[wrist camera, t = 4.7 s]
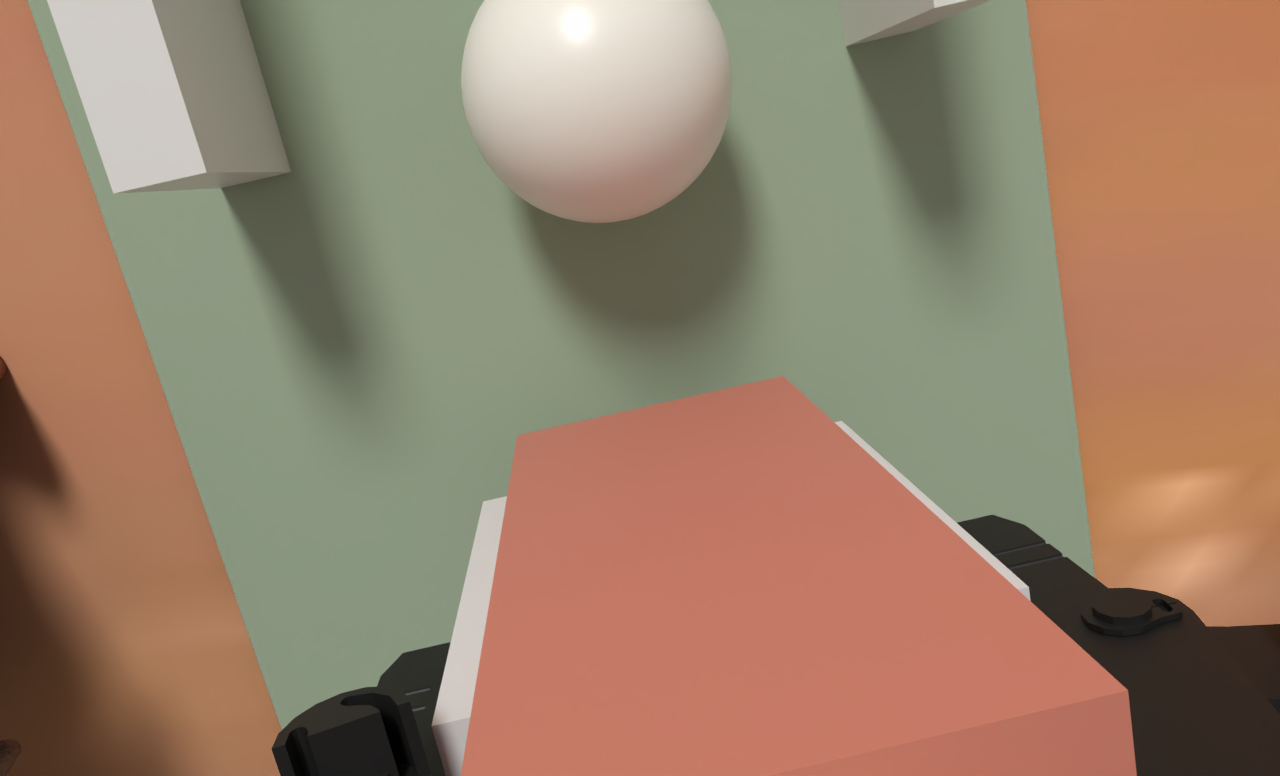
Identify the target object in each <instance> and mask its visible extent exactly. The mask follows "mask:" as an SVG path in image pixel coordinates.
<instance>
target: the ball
mask: <svg viewBox="0 0 1280 776" xmlns="http://www.w3.org/2000/svg"><path fill="white" fill-rule="evenodd" d="M461 89H462V100H463V106H464V110H465V115H466V119H467V123H468V125H469V128H470V131H471V134H472V137H473V139H474V141H475V143H476V145H477V147H478V149H479V151H480V153H481V155H482V156H483V158H484V159H485V161H486V162H487V164H488V165H489V167H490V168H491V170H492V171H493V172H494V173H495V174H496V175H497V176H498V178H499V179H500V180H501V181H502V182H503V183H504V184H505V185H506V186H507V187H508V188H509V189H511V190H512V191H513V192H514V193H515V194H516V195H518V196H519V197H521V198H522V199H523V200H525V201H526V202H528V203H529V204H531V205H533V206H535V207H537V208H539V209H541V210H543V211H545V212H547V213H549V214H552V215H555V216H558V217H561V218H564V219H569V220H573V221H578V222H588V223H609V222H618V221H623V220H628V219H632V218H635V217H638V216H641V215H645V214H647V213H649V212H651V211H653V210H656V209H658V208H660V207H662V206H663V205H665V204H666V203H668V202H669V201H671V200H673V199H674V198H676V197H677V196H678V195H679V194H681V193H682V192H683V191H684V190H685V189H686V188H688V187H689V186H690V185H691V184H692V183H693V182H694V180H695V179H696V178H697V177H698V176H699V175H700V174H701V173H702V171H703V170H704V168H705V167H706V166H707V164H708V163H709V161H710V160H711V158H712V156H713V155H714V153H715V151H716V149H717V147H718V145H719V143H720V141H721V138H722V135H723V133H724V130H725V128H726V124H727V120H728V116H729V112H730V105H731V97H732V67H731V60H730V53H729V49H728V45H727V41H726V37H725V35H724V32H723V29H722V27H721V24H720V22H719V19H718V17H717V16H716V14H715V12H714V10H713V8H712V6H711V5H710V3H709V1H708V0H484V1H483V3H482V5H481V6H480V8H479V9H478V11H477V13H476V16H475V18H474V20H473V22H472V24H471V27H470V30H469V33H468V36H467V40H466V43H465V47H464V53H463V59H462V69H461Z"/></svg>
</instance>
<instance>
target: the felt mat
mask: <svg viewBox="0 0 1280 776" xmlns="http://www.w3.org/2000/svg"><path fill="white" fill-rule="evenodd" d="M27 1H28V3H29V6H30V9H31V12H32V15H33V18H34V21H35V24H36V26H37V29H38V32H39V35H40V38H41V41H42V44H43V46H44V49H45V52H46V55H47V58H48V61H49V64H50V67H51V69H52V72H53V75H54V78H55V81H56V84H57V87H58V90H59V92H60V95H61V98H62V101H63V104H64V107H65V110H66V112H67V115H68V118H69V121H70V124H71V127H72V130H73V133H74V135H75V138H76V141H77V144H78V147H79V150H80V153H81V155H82V158H83V161H84V164H85V167H86V170H87V173H88V176H89V178H90V181H91V184H92V187H93V190H94V193H95V196H96V198H97V201H98V204H99V207H100V210H101V213H102V216H103V219H104V221H105V224H106V227H107V230H108V233H109V236H110V239H111V242H112V244H113V247H114V250H115V253H116V256H117V259H118V262H119V264H120V267H121V270H122V273H123V276H124V279H125V282H126V285H127V287H128V290H129V293H130V296H131V299H132V302H133V305H134V307H135V310H136V313H137V316H138V319H139V322H140V325H141V328H142V330H143V333H144V336H145V339H146V342H147V345H148V348H149V351H150V353H151V356H152V359H153V362H154V365H155V368H156V371H157V373H158V376H159V379H160V382H161V385H162V388H163V391H164V394H165V396H166V399H167V402H168V405H169V408H170V411H171V414H172V416H173V419H174V422H175V425H176V428H177V431H178V434H179V437H180V439H181V442H182V445H183V448H184V451H185V454H186V457H187V459H188V462H189V465H190V468H191V471H192V474H193V477H194V480H195V482H196V485H197V488H198V491H199V494H200V497H201V500H202V503H203V505H204V508H205V511H206V514H207V517H208V520H209V523H210V525H211V528H212V531H213V534H214V537H215V540H216V543H217V546H218V548H219V551H220V554H221V557H222V560H223V563H224V566H225V568H226V571H227V574H228V577H229V580H230V583H231V586H232V589H233V591H234V594H235V597H236V600H237V603H238V606H239V609H240V612H241V614H242V617H243V620H244V623H245V626H246V629H247V632H248V634H249V637H250V640H251V643H252V646H253V649H254V652H255V655H256V657H257V660H258V663H259V666H260V669H261V672H262V675H263V677H264V680H265V683H266V686H267V689H268V692H269V695H270V698H271V700H272V703H273V706H274V709H275V712H276V715H277V718H278V720H279V723H280V726H281V729H282V730H283V729H284V728H285V727H286V726H287V725H288V724H289V723H290V722H291V721H292V720H293V719H294V718H295V717H297V716H298V715H300V714H301V713H303V712H304V711H306V710H308V709H309V708H311V707H312V706H314V705H315V704H317V703H320V702H322V701H324V700H327V699H329V698H331V697H334V696H336V695H338V694H341V693H344V692H348V691H352V690H356V689H360V688H364V687H377V685H378V682H379V679H380V676H381V675H382V674H383V673H384V672H385V671H386V670H387V669H388V668H389V667H390V666H391V665H392V664H393V663H394V662H395V661H396V660H397V659H398V658H399V656H400V655H401V654H402V653H405V652H409V651H414V650H418V649H422V648H427V647H431V646H435V645H440V644H444V643H448V642H451V639H452V635H453V630H454V626H455V621H456V617H457V613H458V608H459V604H460V600H461V595H462V591H463V587H464V582H465V578H466V574H467V569H468V565H469V561H470V556H471V552H472V548H473V543H474V539H475V535H476V530H477V526H478V522H479V517H480V513H481V509H482V504H483V501H487V500H492V499H496V498H501V497H505V496H507V494H508V487H509V481H510V475H511V469H512V463H513V457H514V451H515V445H516V439H517V435H521V434H526V433H530V432H535V431H539V430H544V429H548V428H553V427H557V426H562V425H566V424H571V423H575V422H580V421H584V420H588V419H593V418H597V417H602V416H606V415H611V414H615V413H620V412H624V411H629V410H633V409H638V408H642V407H647V406H651V405H655V404H660V403H664V402H669V401H673V400H678V399H682V398H687V397H691V396H696V395H700V394H705V393H709V392H713V391H718V390H722V389H727V388H731V387H736V386H740V385H745V384H749V383H754V382H758V381H763V380H767V379H772V378H776V377H780V376H784V377H785V378H786V379H787V380H788V381H790V382H791V383H792V384H793V385H794V386H795V387H796V388H797V389H798V390H799V391H801V392H802V393H803V394H804V395H805V396H806V397H807V398H808V399H809V400H810V401H811V402H813V403H814V404H815V405H816V406H817V407H818V408H819V409H820V410H821V411H822V412H824V413H825V414H826V415H827V416H828V417H829V418H830V419H831V420H832V421H833V422H838V421H843V422H844V423H845V424H846V425H847V426H848V427H849V428H850V429H852V430H853V431H854V432H855V433H856V434H857V435H858V436H859V437H861V438H862V439H863V440H864V441H865V442H866V443H867V444H868V445H870V446H871V447H872V448H873V449H874V450H875V451H876V452H877V453H879V454H880V455H881V456H882V457H883V458H884V459H885V460H886V461H888V462H889V463H890V464H891V465H892V466H893V467H894V468H895V469H897V470H898V471H899V472H900V473H901V474H902V475H903V476H904V477H906V478H907V479H908V480H909V481H910V482H911V483H912V484H913V485H915V486H916V487H917V488H918V489H919V490H920V491H921V492H922V493H924V494H925V495H926V496H927V497H928V498H929V499H930V500H931V501H933V502H934V503H935V504H936V505H937V506H938V507H939V508H940V509H942V510H943V511H944V512H945V513H946V514H947V515H948V516H949V517H951V518H952V519H953V520H954V521H955V522H956V523H957V522H962V521H966V520H971V519H975V518H979V517H984V516H988V515H995V516H999V517H1002V518H1005V519H1008V520H1011V521H1015V522H1018V523H1021V524H1024V525H1026V526H1027V527H1028V528H1030V529H1031V530H1032V531H1034V532H1035V533H1036V534H1038V535H1039V536H1040V537H1041V538H1043V539H1044V540H1045V542H1046V544H1051V545H1052V546H1053V547H1055V548H1056V549H1057V550H1059V551H1060V552H1061V553H1062V555H1063V557H1068V558H1069V559H1070V560H1072V561H1073V562H1074V563H1076V564H1077V565H1078V566H1080V567H1081V568H1082V569H1083V570H1085V571H1086V572H1087V573H1089V574H1090V575H1091V576H1093V577H1094V578H1095V574H1094V566H1093V557H1092V549H1091V541H1090V532H1089V524H1088V516H1087V507H1086V499H1085V491H1084V482H1083V474H1082V466H1081V457H1080V449H1079V440H1078V432H1077V424H1076V415H1075V407H1074V399H1073V390H1072V382H1071V374H1070V365H1069V357H1068V349H1067V340H1066V332H1065V324H1064V315H1063V307H1062V299H1061V290H1060V282H1059V274H1058V265H1057V257H1056V249H1055V240H1054V232H1053V224H1052V215H1051V207H1050V199H1049V190H1048V182H1047V174H1046V165H1045V157H1044V149H1043V140H1042V132H1041V124H1040V115H1039V107H1038V99H1037V90H1036V82H1035V74H1034V65H1033V57H1032V49H1031V40H1030V32H1029V24H1028V15H1027V7H1026V0H991V1H989V2H986V3H984V4H981V5H978V6H976V7H973V8H971V9H968V10H966V11H963V12H961V13H958V14H956V15H953V16H951V17H948V18H946V19H943V20H941V21H938V22H935V23H933V24H930V25H928V26H925V27H923V28H920V29H918V30H915V31H912V32H908V33H903V34H899V35H894V36H890V37H885V38H881V39H877V40H872V41H868V42H863V43H859V44H855V45H850V46H846V44H845V38H844V32H843V26H842V20H841V14H840V8H839V1H838V0H708V1H709V3H710V5H711V6H712V8H713V10H714V12H715V14H716V16H717V17H718V19H719V22H720V24H721V27H722V29H723V32H724V35H725V37H726V41H727V45H728V49H729V53H730V60H731V67H732V97H731V105H730V112H729V116H728V120H727V124H726V128H725V130H724V133H723V135H722V138H721V141H720V143H719V145H718V147H717V149H716V151H715V153H714V155H713V156H712V158H711V160H710V161H709V163H708V164H707V166H706V167H705V168H704V170H703V171H702V173H701V174H700V175H699V176H698V177H697V178H696V179H695V180H694V182H693V183H692V184H691V185H690V186H689V187H688V188H686V189H685V190H684V191H683V192H682V193H681V194H679V195H678V196H677V197H676V198H674V199H673V200H671V201H669V202H668V203H666V204H665V205H663V206H662V207H660V208H658V209H656V210H653V211H651V212H649V213H647V214H645V215H641V216H638V217H635V218H632V219H628V220H623V221H618V222H609V223H588V222H578V221H573V220H569V219H564V218H561V217H558V216H555V215H552V214H549V213H547V212H545V211H543V210H541V209H539V208H537V207H535V206H533V205H531V204H529V203H528V202H526V201H525V200H523V199H522V198H521V197H519V196H518V195H516V194H515V193H514V192H513V191H512V190H511V189H509V188H508V187H507V186H506V185H505V184H504V183H503V182H502V181H501V180H500V179H499V178H498V176H497V175H496V174H495V173H494V172H493V171H492V170H491V168H490V167H489V165H488V164H487V162H486V161H485V159H484V158H483V156H482V155H481V153H480V151H479V149H478V147H477V145H476V143H475V141H474V139H473V137H472V134H471V131H470V128H469V125H468V123H467V119H466V115H465V110H464V106H463V100H462V89H461V69H462V59H463V53H464V47H465V43H466V40H467V36H468V33H469V30H470V27H471V24H472V22H473V20H474V18H475V16H476V13H477V11H478V9H479V8H480V6H481V5H482V3H483V1H484V0H240V2H241V6H242V9H243V12H244V16H245V19H246V22H247V26H248V29H249V32H250V36H251V39H252V42H253V46H254V49H255V52H256V56H257V59H258V62H259V66H260V69H261V72H262V76H263V79H264V82H265V86H266V89H267V92H268V96H269V99H270V102H271V106H272V109H273V112H274V116H275V119H276V122H277V126H278V129H279V132H280V136H281V139H282V142H283V146H284V149H285V152H286V156H287V159H288V162H289V166H290V169H291V172H290V173H286V174H281V175H277V176H272V177H268V178H264V179H259V180H255V181H250V182H246V183H241V184H237V185H233V186H228V187H224V188H214V189H194V190H174V191H154V192H134V193H114V194H113V191H112V188H111V185H110V182H109V179H108V176H107V173H106V171H105V168H104V165H103V162H102V159H101V156H100V153H99V150H98V147H97V144H96V141H95V139H94V136H93V133H92V130H91V127H90V124H89V121H88V118H87V115H86V112H85V110H84V107H83V104H82V101H81V98H80V95H79V92H78V89H77V86H76V83H75V80H74V78H73V75H72V72H71V69H70V66H69V63H68V60H67V57H66V54H65V51H64V48H63V46H62V43H61V40H60V37H59V34H58V31H57V28H56V25H55V22H54V19H53V17H52V14H51V11H50V8H49V5H48V2H47V0H27Z"/></svg>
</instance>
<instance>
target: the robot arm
mask: <svg viewBox="0 0 1280 776" xmlns="http://www.w3.org/2000/svg"><path fill="white" fill-rule="evenodd" d="M834 423H836V424H837V425H838V426H839V427H840V428H841V429H842V430H843V431H844V432H845V433H847V434H848V435H849V436H850V437H851V438H852V439H853V440H854V441H855V442H856V443H858V444H859V445H860V446H861V447H862V448H863V449H864V450H865V451H866V452H867V453H868V454H870V455H871V456H872V457H873V458H874V459H875V460H876V461H877V462H878V463H879V464H881V465H882V466H883V467H884V468H885V469H886V470H887V471H888V472H889V473H890V474H892V475H893V476H894V477H895V478H896V479H897V480H898V481H899V482H900V483H901V484H902V485H904V486H905V487H906V488H907V489H908V490H909V491H910V492H911V493H912V494H913V495H915V496H916V497H917V498H918V499H919V500H920V501H921V502H922V503H923V504H924V505H926V506H927V507H928V508H929V509H930V510H931V511H932V512H933V513H934V514H935V515H936V516H938V517H939V518H940V519H941V520H942V521H943V522H944V523H945V524H946V525H947V526H949V527H950V528H951V529H952V530H953V531H954V532H955V533H956V534H957V535H958V536H960V537H961V538H962V539H963V540H964V541H965V542H966V543H967V544H968V545H969V546H970V547H972V548H973V549H974V550H975V551H976V552H977V553H978V554H979V555H980V556H981V557H983V558H984V559H985V560H986V561H987V562H988V563H989V564H990V565H991V566H992V567H994V568H995V569H996V570H997V571H998V572H999V573H1000V574H1001V575H1002V576H1003V577H1004V578H1006V579H1007V580H1008V581H1009V582H1010V583H1011V584H1012V585H1013V586H1014V587H1015V588H1017V589H1018V590H1019V591H1020V592H1021V593H1022V594H1023V595H1024V596H1025V597H1026V598H1027V599H1029V600H1030V601H1031V602H1032V603H1033V604H1034V605H1035V606H1036V607H1037V608H1038V609H1040V610H1041V611H1042V612H1043V613H1044V614H1045V615H1046V616H1047V617H1048V618H1049V619H1051V620H1052V621H1053V622H1054V623H1055V624H1056V625H1057V626H1058V627H1059V628H1060V629H1061V630H1063V631H1064V632H1065V633H1066V634H1067V635H1068V636H1069V637H1070V638H1071V639H1072V640H1074V641H1075V642H1076V643H1077V644H1078V645H1079V646H1080V647H1081V648H1082V649H1083V650H1085V651H1086V652H1087V653H1088V654H1089V655H1090V656H1091V657H1092V658H1093V659H1094V660H1095V661H1097V662H1098V663H1099V664H1100V665H1101V666H1102V667H1103V668H1104V669H1105V670H1106V671H1108V672H1109V673H1110V674H1111V675H1112V676H1113V677H1114V678H1115V679H1116V680H1117V681H1119V682H1120V683H1121V684H1122V685H1123V686H1124V687H1125V688H1126V689H1127V690H1128V694H1129V704H1130V714H1131V723H1132V733H1133V743H1134V753H1135V763H1136V772H1137V776H1280V624H1273V625H1253V626H1232V627H1206V626H1205V624H1204V623H1203V622H1202V621H1201V620H1200V618H1199V617H1198V616H1197V615H1196V614H1195V612H1194V611H1193V610H1191V609H1190V608H1189V607H1187V606H1186V605H1185V604H1183V603H1182V602H1181V601H1179V600H1178V599H1175V598H1172V597H1169V596H1166V595H1163V594H1161V593H1158V592H1154V591H1147V590H1140V589H1133V588H1107V587H1106V586H1104V585H1103V584H1102V583H1101V582H1099V581H1098V580H1097V579H1095V578H1094V577H1093V576H1091V575H1090V574H1089V573H1087V572H1086V571H1085V570H1083V569H1082V568H1081V567H1080V566H1078V565H1077V564H1076V563H1074V562H1073V561H1072V560H1070V559H1069V558H1068V557H1063V555H1062V553H1061V552H1060V551H1059V550H1057V549H1056V548H1055V547H1053V546H1052V545H1051V544H1046V542H1045V540H1044V539H1043V538H1041V537H1040V536H1039V535H1038V534H1036V533H1035V532H1034V531H1032V530H1031V529H1030V528H1028V527H1027V526H1026V525H1024V524H1021V523H1018V522H1015V521H1011V520H1008V519H1005V518H1002V517H999V516H995V515H988V516H984V517H979V518H975V519H971V520H966V521H962V522H957V523H956V522H955V521H954V520H953V519H952V518H951V517H949V516H948V515H947V514H946V513H945V512H944V511H943V510H942V509H940V508H939V507H938V506H937V505H936V504H935V503H934V502H933V501H931V500H930V499H929V498H928V497H927V496H926V495H925V494H924V493H922V492H921V491H920V490H919V489H918V488H917V487H916V486H915V485H913V484H912V483H911V482H910V481H909V480H908V479H907V478H906V477H904V476H903V475H902V474H901V473H900V472H899V471H898V470H897V469H895V468H894V467H893V466H892V465H891V464H890V463H889V462H888V461H886V460H885V459H884V458H883V457H882V456H881V455H880V454H879V453H877V452H876V451H875V450H874V449H873V448H872V447H871V446H870V445H868V444H867V443H866V442H865V441H864V440H863V439H862V438H861V437H859V436H858V435H857V434H856V433H855V432H854V431H853V430H852V429H850V428H849V427H848V426H847V425H846V424H845V423H844V422H843V421H838V422H834ZM506 500H507V496H505V497H501V498H496V499H492V500H487V501H483V504H482V509H481V513H480V517H479V522H478V526H477V530H476V535H475V539H474V543H473V548H472V552H471V556H470V561H469V565H468V569H467V574H466V578H465V582H464V587H463V591H462V595H461V600H460V604H459V608H458V613H457V617H456V621H455V626H454V630H453V635H452V639H451V642H448V643H444V644H440V645H435V646H431V647H427V648H422V649H418V650H414V651H409V652H405V653H402V654H401V655H400V656H399V658H398V659H397V660H396V661H395V662H394V663H393V664H392V665H391V666H390V667H389V668H388V669H387V670H386V671H385V672H384V673H383V674H382V675H381V676H380V679H379V682H378V685H377V687H364V688H360V689H356V690H352V691H348V692H344V693H341V694H338V695H336V696H334V697H331V698H329V699H327V700H324V701H322V702H320V703H317V704H315V705H314V706H312V707H311V708H309V709H308V710H306V711H304V712H303V713H301V714H300V715H298V716H297V717H295V718H294V719H293V720H292V721H291V722H290V723H289V724H288V725H287V726H286V727H285V728H284V729H283V730H282V731H281V732H280V733H279V734H278V736H277V738H276V740H275V743H274V745H273V747H272V751H273V754H274V757H275V760H276V763H277V766H278V769H279V772H280V775H281V776H461V770H462V764H463V758H464V752H465V746H466V740H467V734H468V728H469V722H470V716H471V710H472V704H473V698H474V692H475V686H476V680H477V674H478V668H479V662H480V656H481V650H482V644H483V638H484V632H485V626H486V620H487V614H488V608H489V602H490V596H491V590H492V584H493V578H494V572H495V566H496V560H497V554H498V548H499V542H500V536H501V530H502V524H503V518H504V512H505V506H506Z"/></svg>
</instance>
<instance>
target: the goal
mask: <svg viewBox="0 0 1280 776" xmlns="http://www.w3.org/2000/svg"><path fill="white" fill-rule="evenodd" d="M838 1H839V8H840V14H841V20H842V26H843V32H844V38H845V44H846V46H850V45H855V44H859V43H863V42H868V41H872V40H877V39H881V38H885V37H890V36H894V35H899V34H903V33H908V32H912V31H915V30H918V29H920V28H923V27H925V26H928V25H930V24H933V23H935V22H938V21H941V20H943V19H946V18H948V17H951V16H953V15H956V14H958V13H961V12H963V11H966V10H968V9H971V8H973V7H976V6H978V5H981V4H984V3H986V2H989V1H991V0H838ZM47 2H48V5H49V8H50V11H51V14H52V17H53V19H54V22H55V25H56V28H57V31H58V34H59V37H60V40H61V43H62V46H63V48H64V51H65V54H66V57H67V60H68V63H69V66H70V69H71V72H72V75H73V78H74V80H75V83H76V86H77V89H78V92H79V95H80V98H81V101H82V104H83V107H84V110H85V112H86V115H87V118H88V121H89V124H90V127H91V130H92V133H93V136H94V139H95V141H96V144H97V147H98V150H99V153H100V156H101V159H102V162H103V165H104V168H105V171H106V173H107V176H108V179H109V182H110V185H111V188H112V191H113V194H114V193H134V192H154V191H174V190H194V189H214V188H224V187H228V186H233V185H237V184H241V183H246V182H250V181H255V180H259V179H264V178H268V177H272V176H277V175H281V174H286V173H290V172H291V169H290V166H289V162H288V159H287V156H286V152H285V149H284V146H283V142H282V139H281V136H280V132H279V129H278V126H277V122H276V119H275V116H274V112H273V109H272V106H271V102H270V99H269V96H268V92H267V89H266V86H265V82H264V79H263V76H262V72H261V69H260V66H259V62H258V59H257V56H256V52H255V49H254V46H253V42H252V39H251V36H250V32H249V29H248V26H247V22H246V19H245V16H244V12H243V9H242V6H241V2H240V0H47Z"/></svg>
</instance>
